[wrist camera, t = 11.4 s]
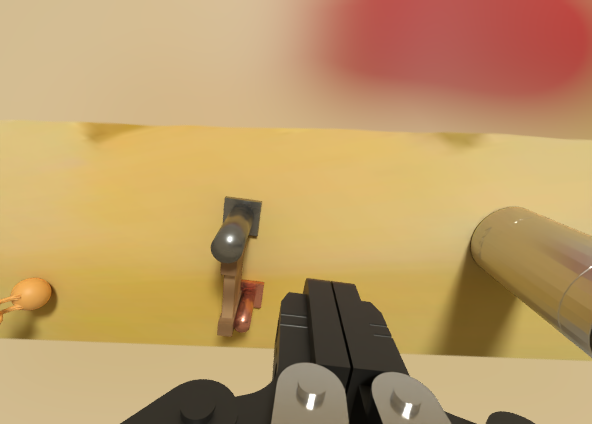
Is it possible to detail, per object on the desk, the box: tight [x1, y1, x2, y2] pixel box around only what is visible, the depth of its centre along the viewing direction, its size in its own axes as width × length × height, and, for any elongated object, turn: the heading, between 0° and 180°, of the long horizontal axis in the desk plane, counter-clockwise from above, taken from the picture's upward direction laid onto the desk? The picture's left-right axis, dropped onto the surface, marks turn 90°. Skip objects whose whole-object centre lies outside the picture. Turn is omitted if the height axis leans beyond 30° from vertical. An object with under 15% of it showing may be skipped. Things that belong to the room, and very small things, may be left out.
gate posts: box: [211, 196, 264, 332], centre depth 36 cm, size 6×15×10 cm, turn 172°
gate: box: [217, 244, 246, 337], centre depth 37 cm, size 9×2×7 cm, turn 173°
